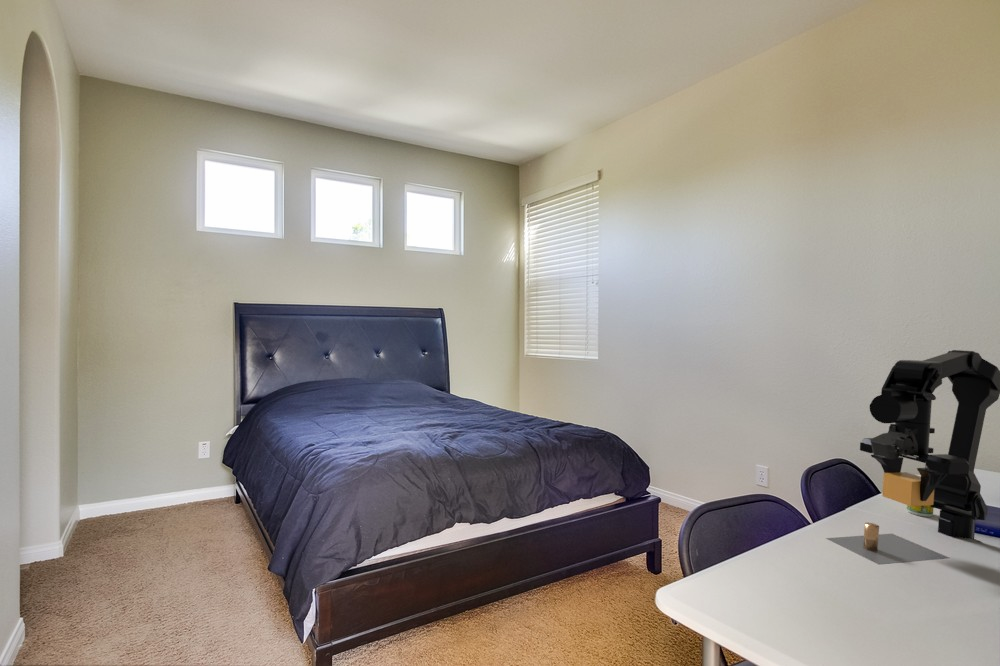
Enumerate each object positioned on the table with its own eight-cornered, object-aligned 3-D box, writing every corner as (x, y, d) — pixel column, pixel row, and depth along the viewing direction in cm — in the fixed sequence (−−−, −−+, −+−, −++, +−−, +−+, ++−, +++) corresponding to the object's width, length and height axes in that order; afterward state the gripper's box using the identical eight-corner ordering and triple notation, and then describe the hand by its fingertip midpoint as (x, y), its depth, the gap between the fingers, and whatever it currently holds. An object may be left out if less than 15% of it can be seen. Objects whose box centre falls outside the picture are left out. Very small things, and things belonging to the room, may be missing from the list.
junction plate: (891, 540, 117) (892, 533, 117) (949, 565, 105) (949, 557, 105) (825, 545, 112) (825, 538, 112) (878, 571, 101) (878, 564, 101)
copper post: (869, 546, 109) (871, 522, 109) (880, 551, 107) (882, 526, 107) (860, 546, 109) (861, 522, 109) (871, 551, 106) (872, 527, 106)
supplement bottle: (936, 515, 135) (938, 478, 134) (927, 518, 132) (930, 480, 132) (911, 508, 139) (913, 472, 139) (902, 511, 136) (904, 474, 136)
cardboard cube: (904, 495, 113) (905, 472, 113) (933, 504, 108) (934, 480, 107) (882, 496, 112) (883, 472, 112) (910, 506, 106) (912, 481, 106)
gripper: (842, 413, 116) (837, 482, 117) (929, 431, 98) (923, 513, 99) (881, 413, 119) (877, 481, 119) (973, 430, 101) (968, 511, 101)
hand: (907, 495), depth 110 cm, fingers closed on cardboard cube, 6 cm apart
